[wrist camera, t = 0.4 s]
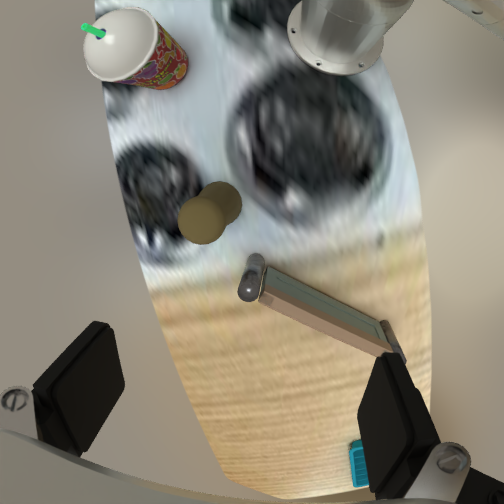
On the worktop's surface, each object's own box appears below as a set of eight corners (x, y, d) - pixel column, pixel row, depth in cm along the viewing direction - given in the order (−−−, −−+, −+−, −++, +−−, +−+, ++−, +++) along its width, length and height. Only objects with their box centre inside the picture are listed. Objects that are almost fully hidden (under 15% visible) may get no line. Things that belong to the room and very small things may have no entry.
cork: (251, 200, 42) (239, 220, 31) (224, 234, 43) (204, 263, 33) (215, 172, 41) (190, 182, 30) (189, 207, 43) (159, 228, 32)
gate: (263, 274, 44) (258, 302, 36) (268, 264, 43) (264, 291, 36) (373, 329, 45) (385, 361, 37) (379, 320, 44) (393, 352, 37)
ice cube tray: (400, 426, 54) (403, 436, 51) (396, 469, 60) (398, 477, 57) (347, 439, 56) (348, 449, 53) (352, 479, 62) (353, 488, 59)
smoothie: (150, 106, 38) (57, 90, 20) (133, 58, 36) (42, 22, 17) (205, 80, 37) (139, 36, 18) (185, 31, 34) (116, -31, 16)
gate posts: (252, 250, 44) (243, 279, 35) (392, 322, 45) (410, 358, 36) (244, 264, 45) (234, 296, 36) (383, 333, 46) (399, 371, 37)
